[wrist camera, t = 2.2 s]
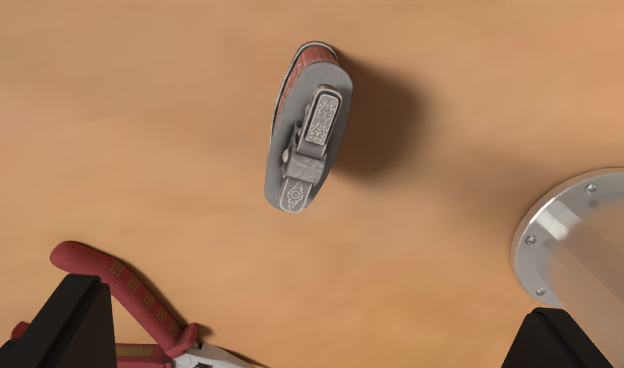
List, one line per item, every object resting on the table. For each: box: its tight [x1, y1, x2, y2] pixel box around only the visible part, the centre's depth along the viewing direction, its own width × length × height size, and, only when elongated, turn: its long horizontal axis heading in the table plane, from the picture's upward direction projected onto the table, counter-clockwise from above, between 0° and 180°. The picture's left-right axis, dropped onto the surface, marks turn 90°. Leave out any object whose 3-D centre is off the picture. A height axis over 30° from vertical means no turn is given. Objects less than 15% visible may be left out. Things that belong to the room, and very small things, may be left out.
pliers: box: [10, 241, 256, 368], centre depth 35 cm, size 12×20×3 cm, turn 56°
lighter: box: [264, 41, 353, 213], centre depth 23 cm, size 8×3×10 cm, turn 162°
